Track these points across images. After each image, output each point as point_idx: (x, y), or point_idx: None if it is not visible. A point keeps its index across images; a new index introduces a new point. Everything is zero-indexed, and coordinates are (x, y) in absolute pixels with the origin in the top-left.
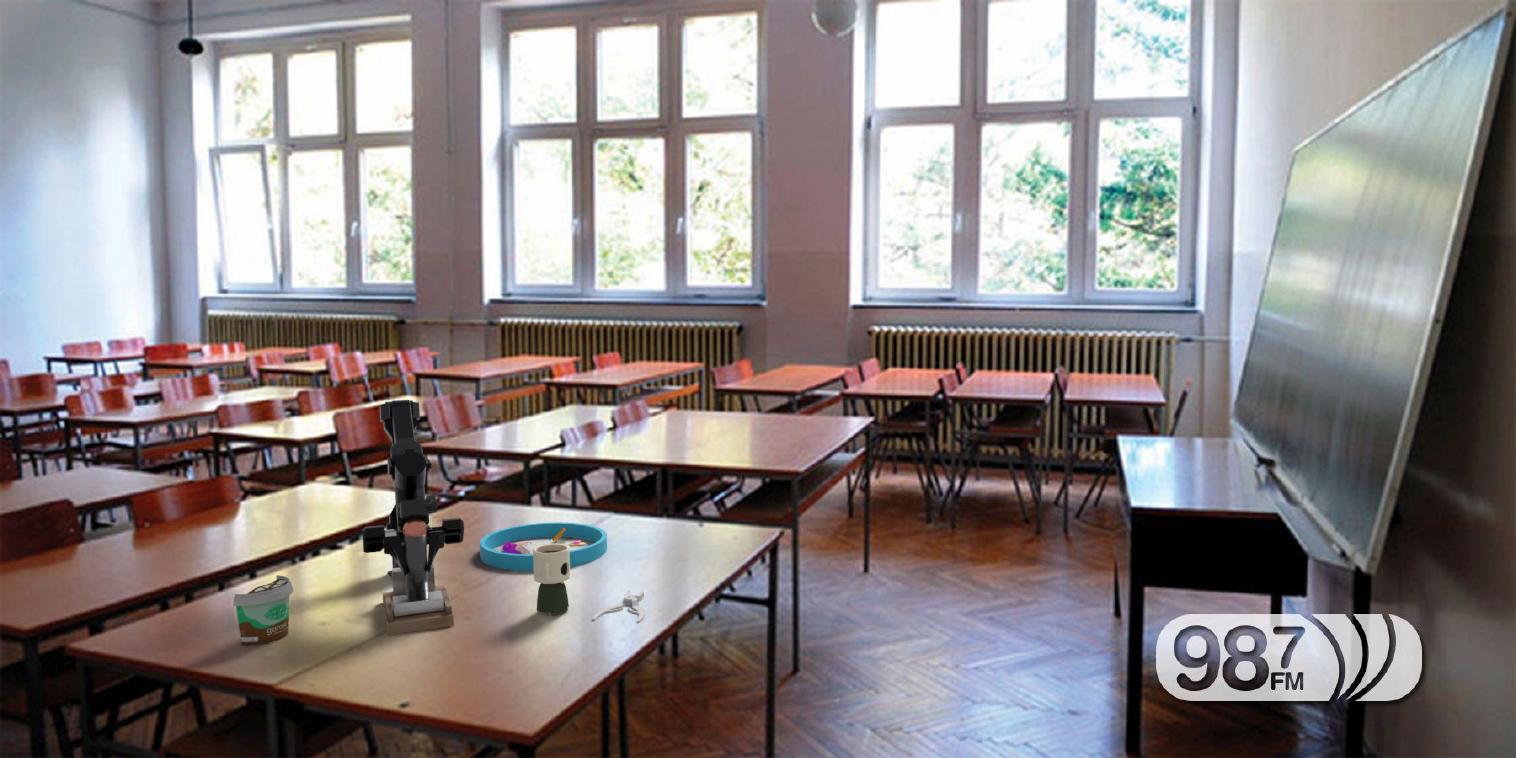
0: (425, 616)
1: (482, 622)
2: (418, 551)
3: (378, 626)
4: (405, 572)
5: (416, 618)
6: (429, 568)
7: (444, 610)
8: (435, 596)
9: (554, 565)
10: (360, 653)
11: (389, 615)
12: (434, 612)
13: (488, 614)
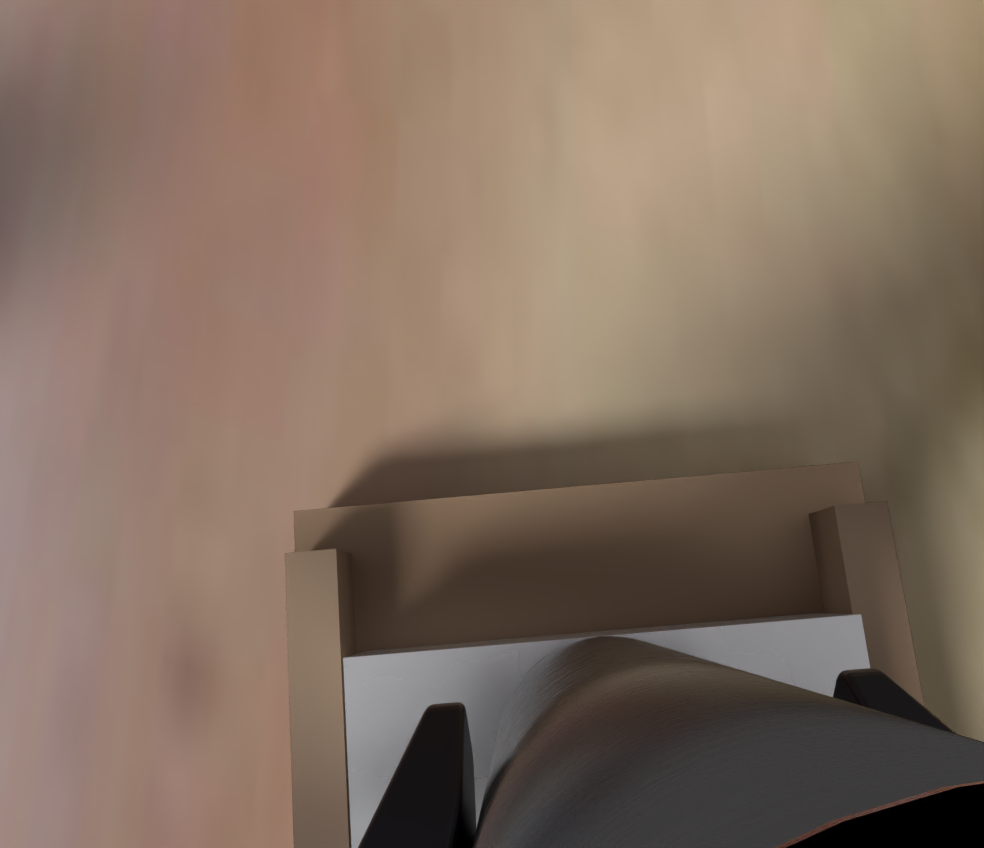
0: (533, 563)
1: (97, 521)
2: (683, 708)
3: None
4: (856, 671)
5: (610, 533)
6: (440, 722)
7: None
8: None
9: None
10: (963, 157)
11: (862, 504)
12: None
13: (22, 708)
